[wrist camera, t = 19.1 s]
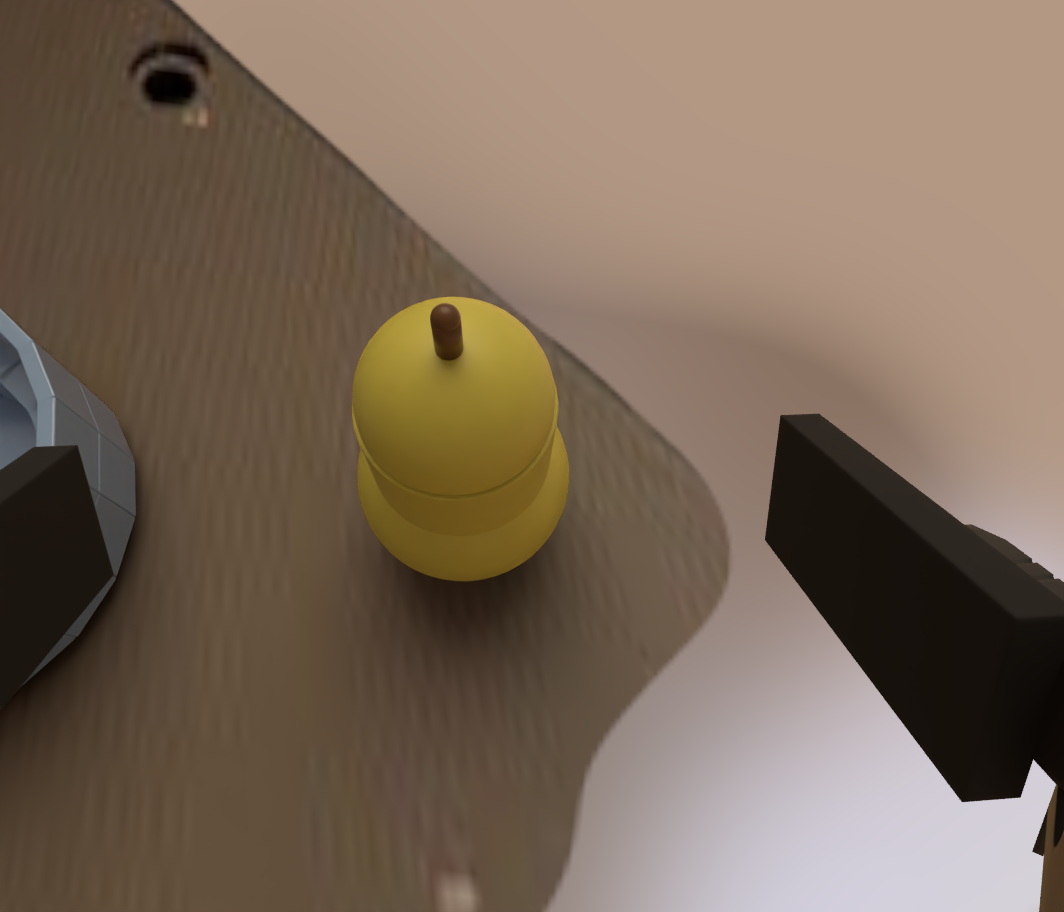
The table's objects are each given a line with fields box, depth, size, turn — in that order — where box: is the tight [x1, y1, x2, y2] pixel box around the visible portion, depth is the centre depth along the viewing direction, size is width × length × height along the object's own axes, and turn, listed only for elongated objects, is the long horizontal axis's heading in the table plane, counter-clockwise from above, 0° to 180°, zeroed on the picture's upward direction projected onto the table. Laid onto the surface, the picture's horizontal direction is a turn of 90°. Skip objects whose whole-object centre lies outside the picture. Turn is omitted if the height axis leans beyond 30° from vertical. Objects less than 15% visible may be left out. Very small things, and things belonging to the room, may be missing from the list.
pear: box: [352, 297, 569, 581], centre depth 20 cm, size 6×6×12 cm
